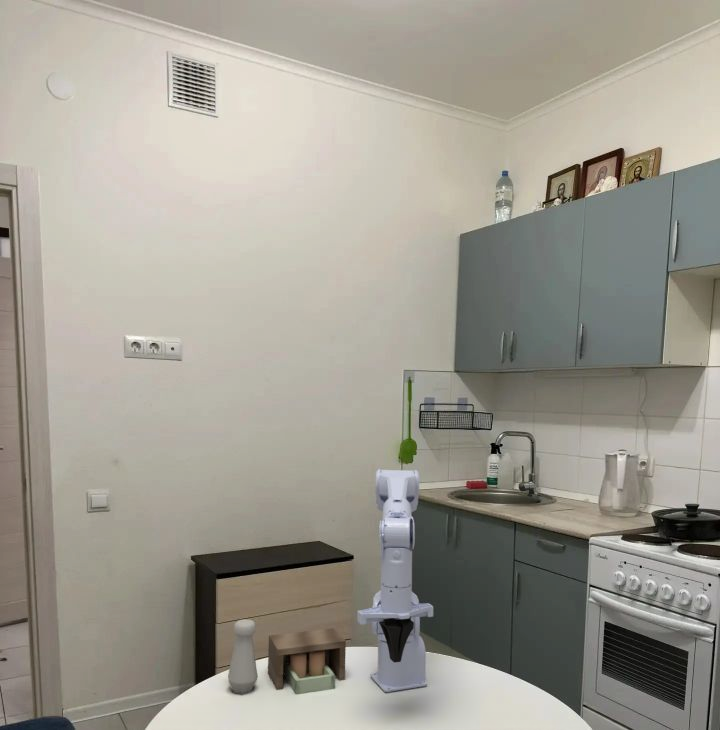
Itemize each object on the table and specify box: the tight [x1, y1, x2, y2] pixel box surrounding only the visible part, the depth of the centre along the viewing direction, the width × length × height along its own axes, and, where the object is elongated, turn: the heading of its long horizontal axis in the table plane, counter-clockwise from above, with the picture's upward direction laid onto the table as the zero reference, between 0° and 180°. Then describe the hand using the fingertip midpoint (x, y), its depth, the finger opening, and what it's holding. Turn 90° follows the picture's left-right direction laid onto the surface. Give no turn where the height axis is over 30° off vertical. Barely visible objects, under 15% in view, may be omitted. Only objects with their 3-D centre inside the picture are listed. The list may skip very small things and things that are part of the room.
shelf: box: [267, 628, 347, 691], centre depth 126 cm, size 14×8×8 cm, turn 111°
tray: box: [284, 650, 336, 695], centre depth 123 cm, size 8×9×5 cm
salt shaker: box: [227, 618, 258, 695], centre depth 120 cm, size 6×6×13 cm
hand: (395, 660), depth 110 cm, fingers closed
